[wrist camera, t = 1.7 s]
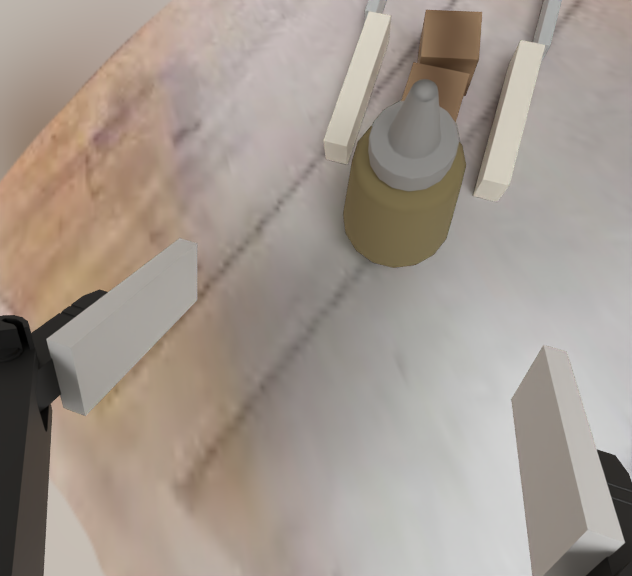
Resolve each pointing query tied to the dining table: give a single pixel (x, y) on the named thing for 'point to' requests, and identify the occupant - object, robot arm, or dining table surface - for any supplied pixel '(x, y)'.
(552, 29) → the grey flat u-shaped frame
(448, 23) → the brown cube block
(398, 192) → the squeeze bottle
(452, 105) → the brown cubic block
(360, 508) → the dining table surface
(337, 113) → the slot rails
